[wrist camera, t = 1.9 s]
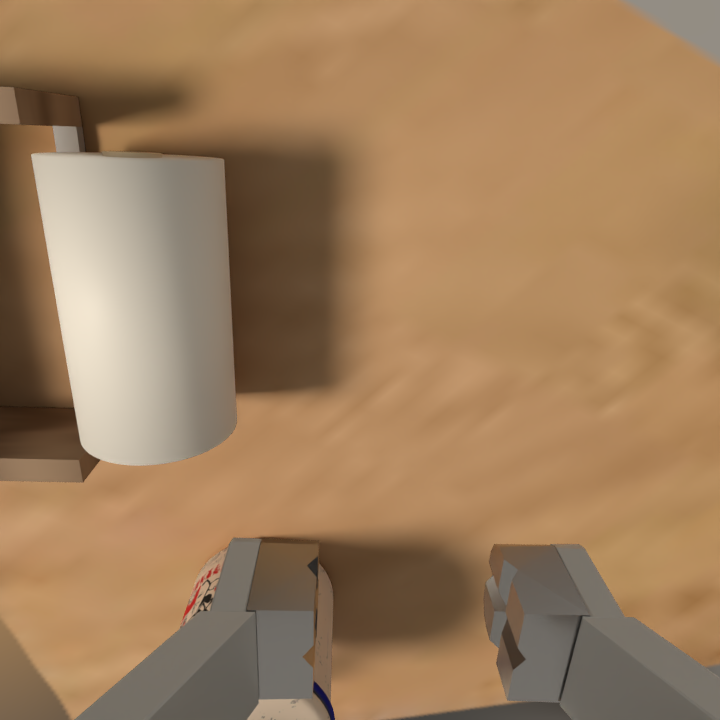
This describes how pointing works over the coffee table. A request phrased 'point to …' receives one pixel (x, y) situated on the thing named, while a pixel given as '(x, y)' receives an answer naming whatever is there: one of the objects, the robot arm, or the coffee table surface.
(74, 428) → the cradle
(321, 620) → the teacup with lid
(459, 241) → the coffee table surface
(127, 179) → the roll
